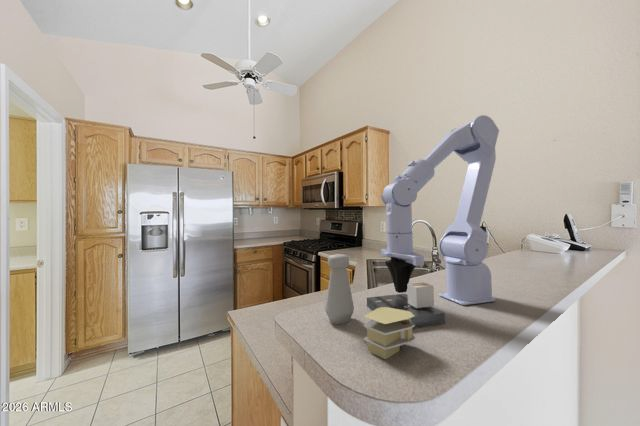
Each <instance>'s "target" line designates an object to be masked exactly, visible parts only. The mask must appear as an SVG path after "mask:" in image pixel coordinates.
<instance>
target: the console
mask: <svg viewBox="0 0 640 426" xmlns="http://www.w3.org/2000/svg"><path fill="white" fill-rule="evenodd" d="M366 307H367V309H370V310H371V312H372V311H374V310H375V309H377V308H380V307H389V308H394V309H400V310H405V311H410V312H411V313H412V314H413V315H414V317H412V318H410V320H411V321H412V322H413V323H414V324H415V326H414V327H413V328H412V329H417V328H423V327H430V326H437V325H444V324H446V313H445V312H444V311H442V310H440V309H438V308H436V307H434V306H430V307H422V308H416V307H414V306H412V305H410V304H408V293H396V294H389V295H378V296H369V297H366Z"/></svg>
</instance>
